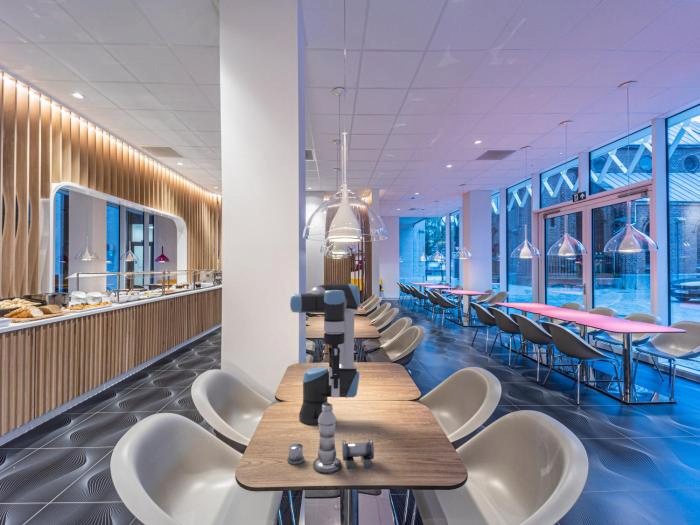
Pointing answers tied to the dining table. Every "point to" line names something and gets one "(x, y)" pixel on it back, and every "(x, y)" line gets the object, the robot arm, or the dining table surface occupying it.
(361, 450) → the grey metal parts
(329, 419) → the plastic bottle
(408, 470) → the dining table surface
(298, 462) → the metal thimble
